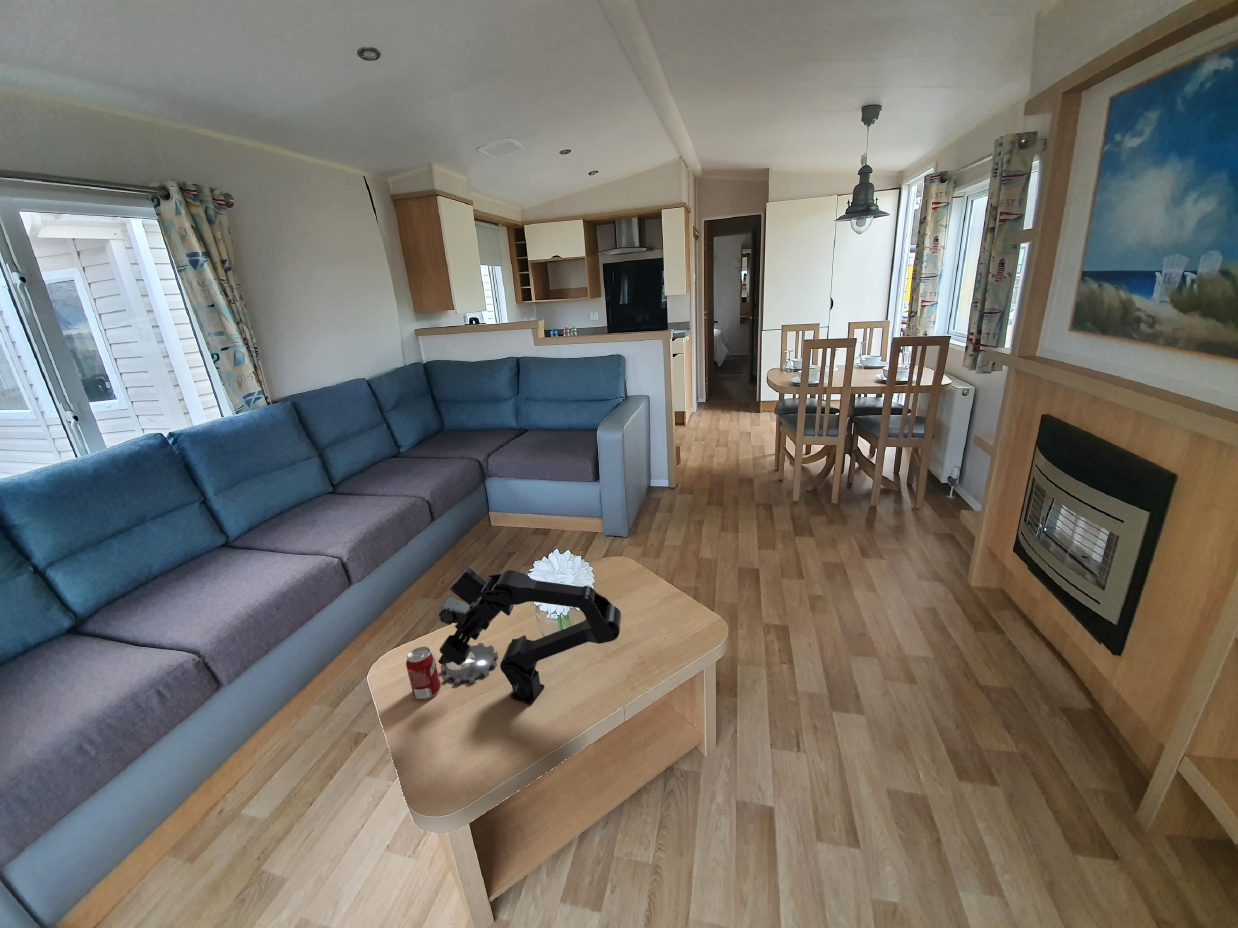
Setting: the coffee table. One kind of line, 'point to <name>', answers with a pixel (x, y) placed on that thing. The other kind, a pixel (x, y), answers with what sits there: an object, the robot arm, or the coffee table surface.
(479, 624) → the robot arm
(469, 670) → the sprocket
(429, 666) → the soda can
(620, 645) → the coffee table surface
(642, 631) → the coffee table surface
